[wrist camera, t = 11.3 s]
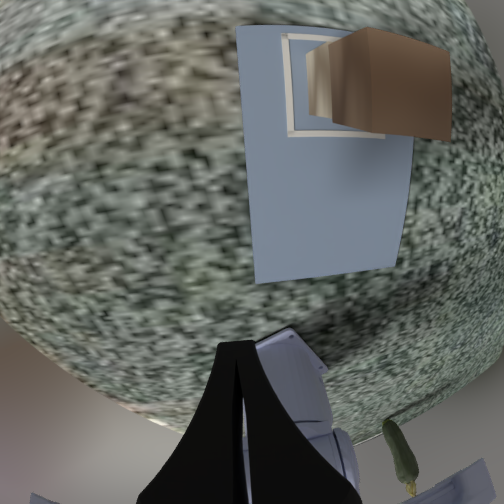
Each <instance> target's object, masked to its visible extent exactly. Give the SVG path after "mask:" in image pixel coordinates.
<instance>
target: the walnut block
mask: <svg viewBox="0 0 504 504" xmlns="http://www.w3.org/2000/svg"><path fill="white" fill-rule="evenodd" d="M328 49H329V61H330V76H331V95H332V123H335V124H340V125H344V126H348V127H352V128H355V129H359V130H363V131H366V132H370V133H378V134H391V135H402V136H411V137H419V138H427V139H434V140H441V141H447V142H451V124H452V83H451V66H450V55H449V52H448V51H446V50H443V49H440V48H438V47H435V46H433V45H430V44H427V43H424V42H421V41H418V40H415V39H412V38H409V37H405V36H402V35H398V34H395V33H391V32H387V31H383V30H379V29H374V28H370V27H365V28H363V29H360V30H358V31H356V32H354V33H352V34H350V35H347V36H345V37H343V38H341V39H339V40H337V41H335V42H333V43H331V44H329V45H328Z"/></svg>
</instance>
